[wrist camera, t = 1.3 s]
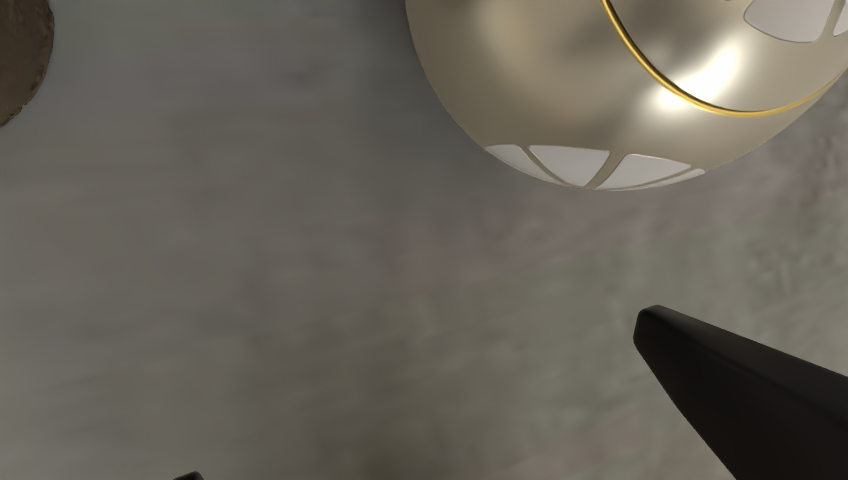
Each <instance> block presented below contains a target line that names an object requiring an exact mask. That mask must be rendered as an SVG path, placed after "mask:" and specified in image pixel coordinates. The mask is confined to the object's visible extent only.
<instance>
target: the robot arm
mask: <svg viewBox="0 0 848 480" xmlns="http://www.w3.org/2000/svg"><path fill="white" fill-rule="evenodd" d="M633 341H634V344H635V346H636V348H637V350H638V351H639V353H640V354H641V356H642V357H643V359H644V360H645V362H646V363H647V365H648V366H649V368H650V369H651V370H652V372H653V373H654V375H655V376H656V378H657V379H658V381H659V382H660V384H661V385H662V387H663V388H664V390H665V391H666V393H667V394H668V396H669V397H670V398H671V400H672V401H673V403H674V404H675V405H676V407H677V408H678V409H679V411H680V412H681V413H682V414H683V416H684V417H685V418H686V419H687V421H688V422H689V423H690V424H691V425H692V427H693V428H694V429H695V430H696V432H697V433H698V434H699V435H700V436H701V438H702V439H703V440H704V441H705V442H706V444H707V445H708V446H709V447H710V448H711V450H712V451H713V452H714V453H715V454H716V456H717V457H718V458H719V459H720V461H721V462H722V463H723V464H724V465H725V467H726V468H727V469H728V470H729V471H730V473H731V474H732V475H733V476H734V477H735V479H736V480H848V377H847V376H844V375H842V374H839V373H836V372H834V371H831V370H828V369H826V368H823V367H821V366H818V365H815V364H813V363H810V362H808V361H805V360H802V359H800V358H797V357H794V356H792V355H789V354H787V353H784V352H781V351H779V350H776V349H774V348H771V347H768V346H766V345H763V344H760V343H758V342H755V341H753V340H750V339H747V338H745V337H742V336H739V335H737V334H734V333H732V332H729V331H726V330H724V329H721V328H719V327H716V326H713V325H711V324H708V323H705V322H703V321H700V320H698V319H695V318H692V317H690V316H687V315H685V314H682V313H679V312H677V311H674V310H671V309H669V308H666V307H664V306H660V305H654V306H651V307H648V308H645V309H643V310H641V311H640V312H639V314H638V317H637V321H636V326H635V330H634V335H633ZM173 480H204V479H203V477H202V476H201V474H200V473H199V472H196V471H195V472H191V473H188V474H185V475H183V476H180V477H177V478H175V479H173Z"/></svg>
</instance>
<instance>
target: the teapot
mask: <svg viewBox="0 0 848 480" xmlns="http://www.w3.org/2000/svg"><path fill="white" fill-rule="evenodd" d="M405 6H406V12H407V18H408V23H409V28H410V32H411V36H412V39H413V43H414V46H415V49H416V52H417V55H418V58H419V61H420V63H421V65H422V68H423V70H424V73H425V75H426V77H427V79H428V81H429V83H430V85H431V87H432V88H433V90H434V92H435V94H436V95H437V97H438V98H439V100H440V101H441V103H442V104H443V106H444V107H445V109H446V110H447V111H448V113H449V114H450V115H451V117H452V118H453V119H454V120H455V122H456V123H457V124H458V125H459V126H460V127H461V128H462V129H463V130H464V131H465V132H466V133H467V134H468V135H469V136H470V137H471V138H472V139H473V140H474V141H475V142H476V143H477V144H479V145H480V146H481V147H482V148H483V149H485V150H486V151H487V152H489V153H490V154H492V155H493V156H494V157H496V158H497V159H499V160H501V161H502V162H504V163H506V164H507V165H509V166H511V167H513V168H515V169H517V170H519V171H521V172H523V173H525V174H528V175H530V176H532V177H535V178H538V179H541V180H544V181H547V182H550V183H554V184H558V185H562V186H567V187H573V188H578V189H586V190H598V191H625V190H638V189H645V188H652V187H658V186H662V185H667V184H671V183H675V182H679V181H683V180H686V179H689V178H692V177H695V176H698V175H701V174H704V173H706V172H709V171H711V170H713V169H716V168H718V167H720V166H723V165H725V164H727V163H729V162H731V161H733V160H735V159H737V158H739V157H741V156H743V155H745V154H746V153H748V152H750V151H752V150H753V149H755V148H757V147H758V146H760V145H761V144H763V143H764V142H766V141H768V140H769V139H771V138H772V137H773V136H775V135H776V134H778V133H779V132H781V131H782V130H783V129H784V128H786V127H787V126H788V125H790V124H791V123H792V122H793V121H795V120H796V119H797V118H799V117H800V116H801V115H802V114H803V113H804V112H805V111H806V110H807V109H809V108H810V107H811V106H812V105H813V104H814V103H815V102H816V101H817V100H818V99H819V98H820V97H821V96H822V95H823V94H824V93H825V92H826V91H827V90H828V89H829V88H830V87H831V86H832V85H833V84H834V83H835V82H836V81H837V80H838V78H839V77H840V76H841V75H842V74H843V72H844V71H845V70H846V69H847V68H848V0H405Z"/></svg>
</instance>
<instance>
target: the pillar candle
mask: <svg viewBox="0 0 848 480" xmlns="http://www.w3.org/2000/svg"><path fill="white" fill-rule="evenodd" d="M53 18H54V17H53V15H52V12H51V11H50V9H49V7H48V2H47V0H0V127H2V126H3V125H4V124H6V123H7V122H8V121H10V120H11V119H12V118H13V117H14V116H15V115H17V114H18V113H19V112H20V111H21V109H22V105H23V104H24V105H26V104H27V103H28V101H30V100H31V99H32V97H33V95H34V94H35V92H36V91H37V89H38V87H39V85H40V83H41V82H42V80H43V78H44V76H45V72H46V68H47V65H48V63H49V57H50V54H51V51H52V47H53V36H54V30H53V29H54V19H53Z"/></svg>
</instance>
